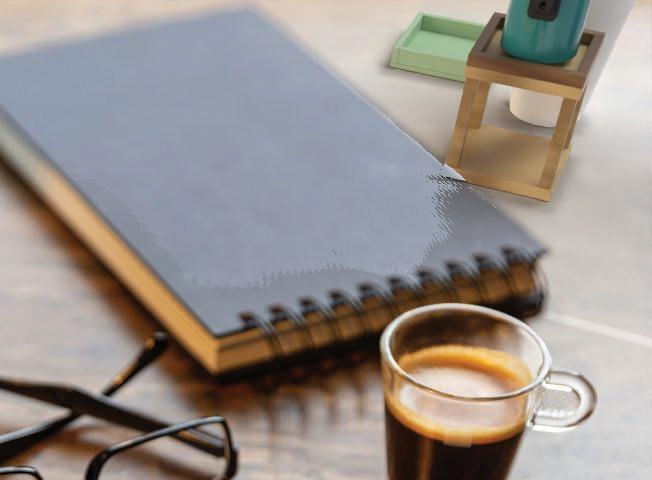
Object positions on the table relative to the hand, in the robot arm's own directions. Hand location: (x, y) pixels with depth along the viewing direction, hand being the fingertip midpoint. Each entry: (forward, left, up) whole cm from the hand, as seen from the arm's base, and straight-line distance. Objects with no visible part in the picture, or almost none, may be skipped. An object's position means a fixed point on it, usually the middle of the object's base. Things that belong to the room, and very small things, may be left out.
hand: (550, 1), depth 103 cm
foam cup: (-1, -11, -15) cm, 19 cm away
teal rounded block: (0, 0, -4) cm, 4 cm away
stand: (0, 0, -14) cm, 14 cm away
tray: (+10, -18, -14) cm, 25 cm away
